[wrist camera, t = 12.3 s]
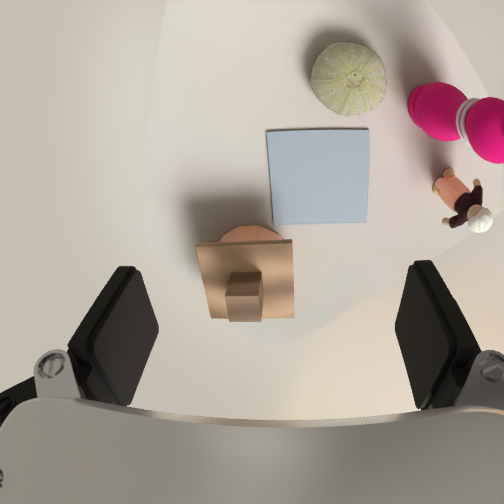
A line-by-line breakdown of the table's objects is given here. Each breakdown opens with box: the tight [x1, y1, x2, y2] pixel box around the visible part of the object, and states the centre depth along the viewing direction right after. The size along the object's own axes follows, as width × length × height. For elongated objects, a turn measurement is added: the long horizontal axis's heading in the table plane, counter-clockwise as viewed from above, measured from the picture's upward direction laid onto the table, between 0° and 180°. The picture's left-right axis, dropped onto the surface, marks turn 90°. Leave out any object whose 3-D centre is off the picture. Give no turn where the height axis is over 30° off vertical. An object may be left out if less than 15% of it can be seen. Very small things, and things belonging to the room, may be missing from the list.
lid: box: [196, 239, 294, 322], centre depth 41 cm, size 12×12×6 cm
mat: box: [267, 129, 369, 225], centre depth 41 cm, size 13×13×1 cm
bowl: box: [220, 225, 282, 242], centre depth 46 cm, size 11×11×6 cm
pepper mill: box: [408, 82, 504, 164], centre depth 26 cm, size 7×7×20 cm
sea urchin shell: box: [310, 42, 387, 116], centre depth 33 cm, size 9×8×8 cm
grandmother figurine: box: [432, 168, 493, 233], centre depth 34 cm, size 8×4×13 cm, turn 159°
